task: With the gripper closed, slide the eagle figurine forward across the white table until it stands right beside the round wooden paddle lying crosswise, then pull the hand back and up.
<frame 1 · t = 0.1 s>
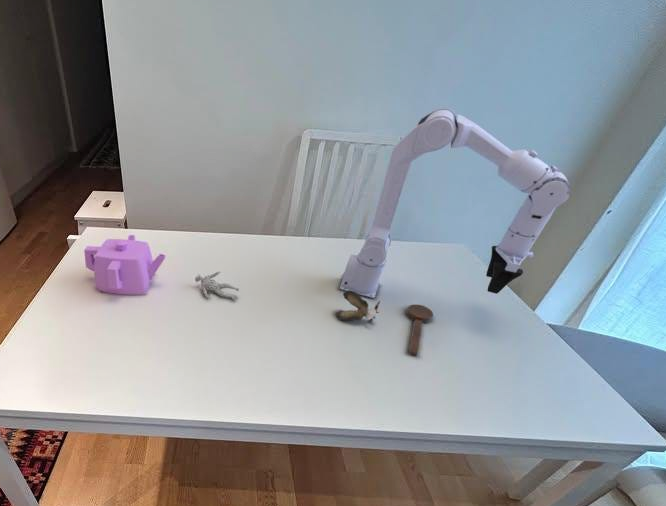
hand: (491, 284, 93), 10 cm above the table, tool pointing down, fingers open, 7 cm apart
eagle figurine: (354, 318, 99), on the table
teakettle: (128, 282, 108), on the table
soldier figure: (216, 293, 105), on the table
round wooden paddle: (416, 330, 95), on the table
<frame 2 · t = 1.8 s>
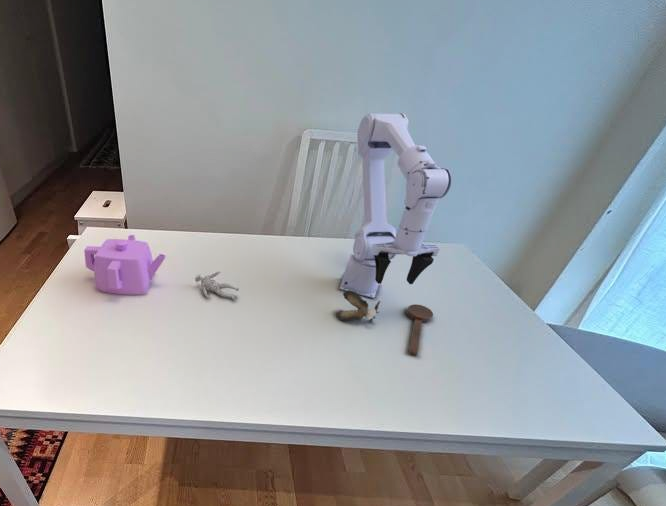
hand: (393, 282, 93), 10 cm above the table, tool pointing down, fingers open, 7 cm apart
nothing on the table moved.
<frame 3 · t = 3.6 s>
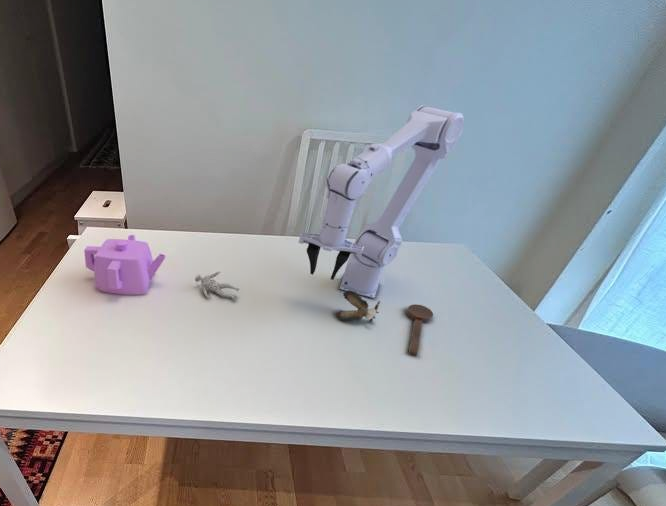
hand: (322, 275, 96), 9 cm above the table, tool pointing down, fingers open, 4 cm apart
nothing on the table moved.
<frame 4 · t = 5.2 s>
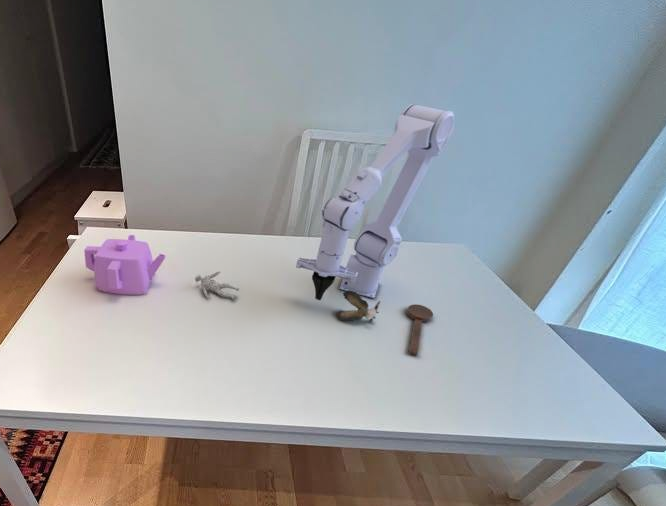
hand: (318, 297, 100), 3 cm above the table, tool pointing down, fingers closed
nothing on the table moved.
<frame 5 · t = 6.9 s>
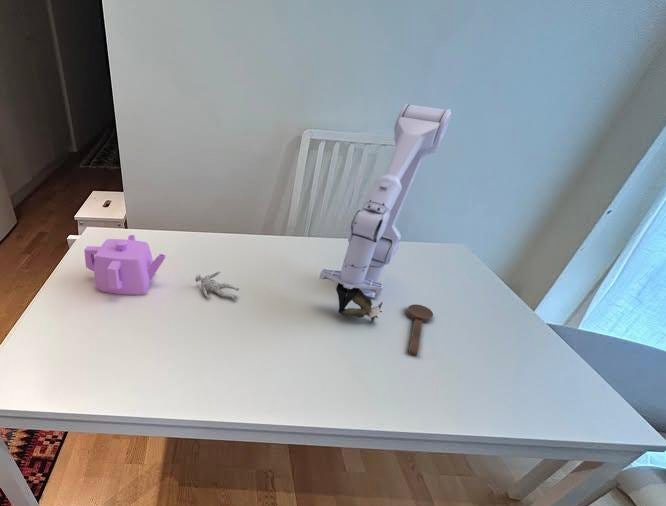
hand: (341, 309, 99), 1 cm above the table, tool pointing down, fingers closed, pressing on eagle figurine
eagle figurine: (356, 317, 98), on the table, touching gripper
everything else where it was.
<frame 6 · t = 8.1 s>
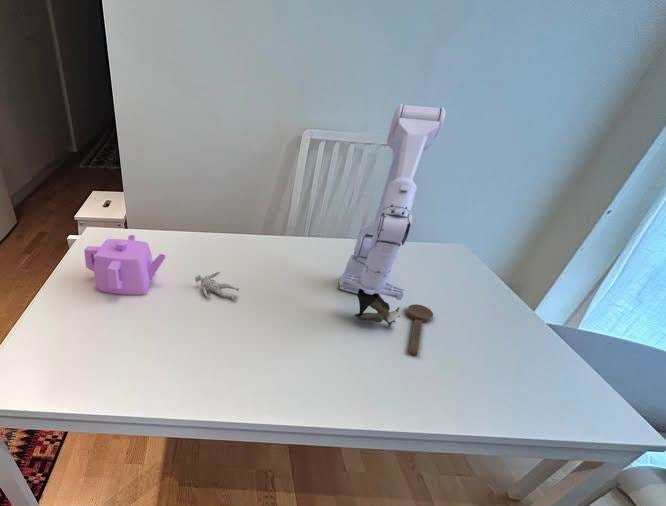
hand: (360, 314, 97), 1 cm above the table, tool pointing down, fingers closed, pressing on eagle figurine
eagle figurine: (372, 322, 97), on the table, touching gripper
everything else where it was.
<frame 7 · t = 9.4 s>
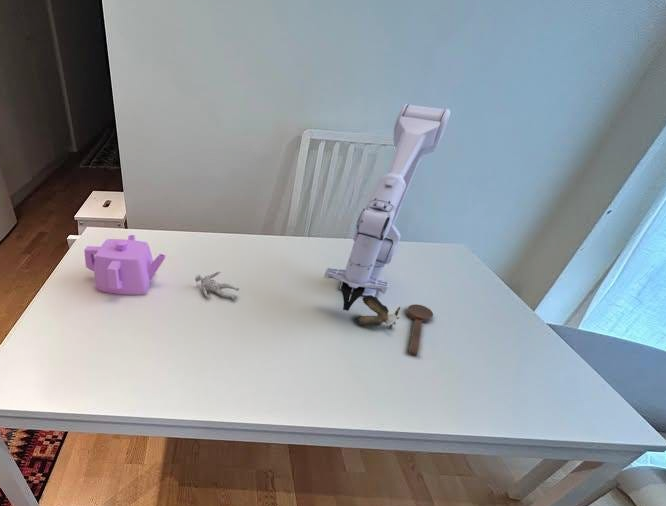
hand: (346, 308, 98), 2 cm above the table, tool pointing down, fingers closed
eagle figurine: (373, 323, 97), on the table
everything else where it was.
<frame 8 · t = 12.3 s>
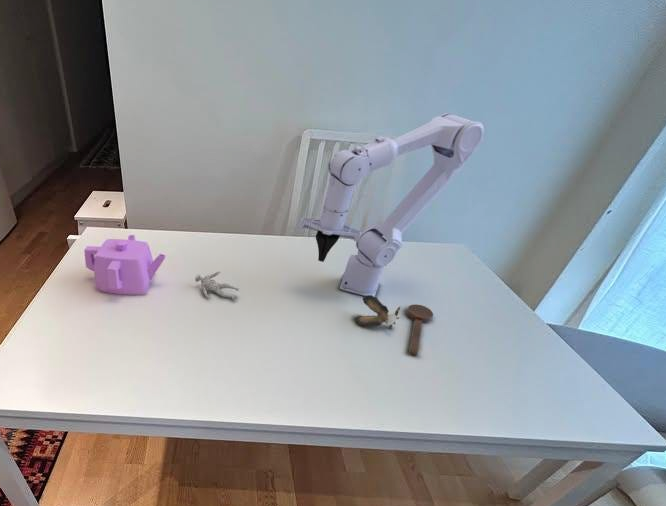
hand: (321, 259, 99), 10 cm above the table, tool pointing down, fingers closed
nothing on the table moved.
at the end: eagle figurine 9.9 cm from the round wooden paddle (horizontally); eagle figurine tilted 2°; round wooden paddle moved 0.0 cm from its start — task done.
